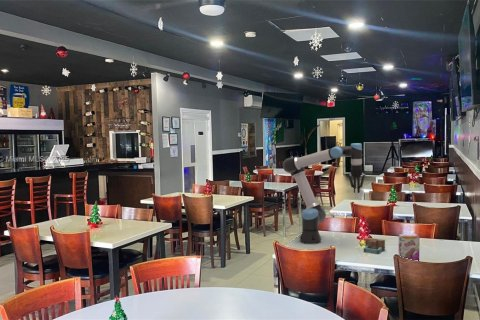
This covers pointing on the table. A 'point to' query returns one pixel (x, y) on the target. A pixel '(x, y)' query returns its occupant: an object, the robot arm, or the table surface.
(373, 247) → the walnut T block
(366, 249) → the teal T socket
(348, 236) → the table surface
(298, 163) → the robot arm
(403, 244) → the candy bar box
